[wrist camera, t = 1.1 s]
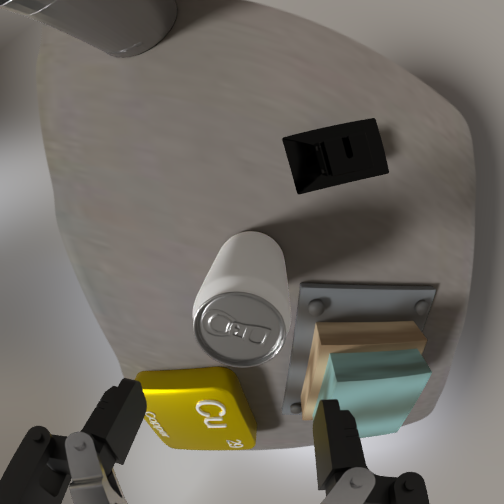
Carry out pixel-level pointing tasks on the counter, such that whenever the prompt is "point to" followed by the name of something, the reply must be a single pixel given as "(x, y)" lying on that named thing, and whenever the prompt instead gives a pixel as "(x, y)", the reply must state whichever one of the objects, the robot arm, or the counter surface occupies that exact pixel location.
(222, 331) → the can
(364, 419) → the brick tower
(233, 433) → the element tile
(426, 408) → the counter surface
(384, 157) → the black slotted housing
